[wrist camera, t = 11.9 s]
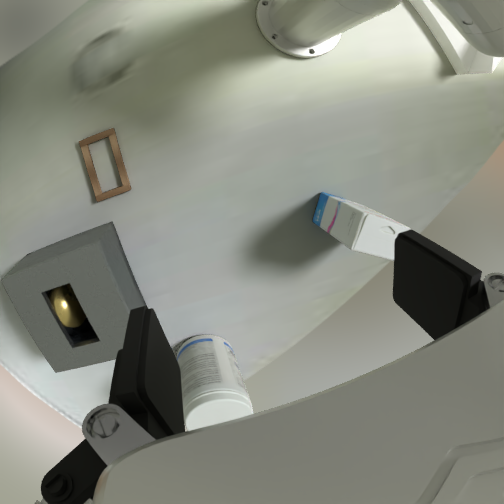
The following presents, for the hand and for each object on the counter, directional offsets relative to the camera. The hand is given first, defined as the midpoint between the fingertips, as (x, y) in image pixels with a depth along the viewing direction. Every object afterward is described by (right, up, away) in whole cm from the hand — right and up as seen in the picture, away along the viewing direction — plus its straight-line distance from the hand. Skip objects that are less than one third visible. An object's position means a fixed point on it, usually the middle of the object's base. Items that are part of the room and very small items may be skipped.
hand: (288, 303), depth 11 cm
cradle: (-20, +13, +25) cm, 34 cm away
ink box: (+12, +8, +35) cm, 38 cm away
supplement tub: (-9, -15, +38) cm, 42 cm away
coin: (-27, -3, +23) cm, 36 cm away
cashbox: (-25, -3, +29) cm, 39 cm away
